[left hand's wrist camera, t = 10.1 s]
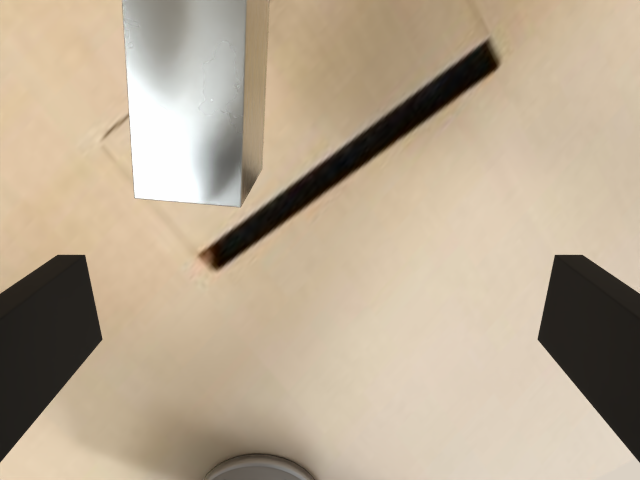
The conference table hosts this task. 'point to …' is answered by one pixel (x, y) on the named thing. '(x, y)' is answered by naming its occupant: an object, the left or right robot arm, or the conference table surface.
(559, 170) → the conference table surface
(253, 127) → the bar
